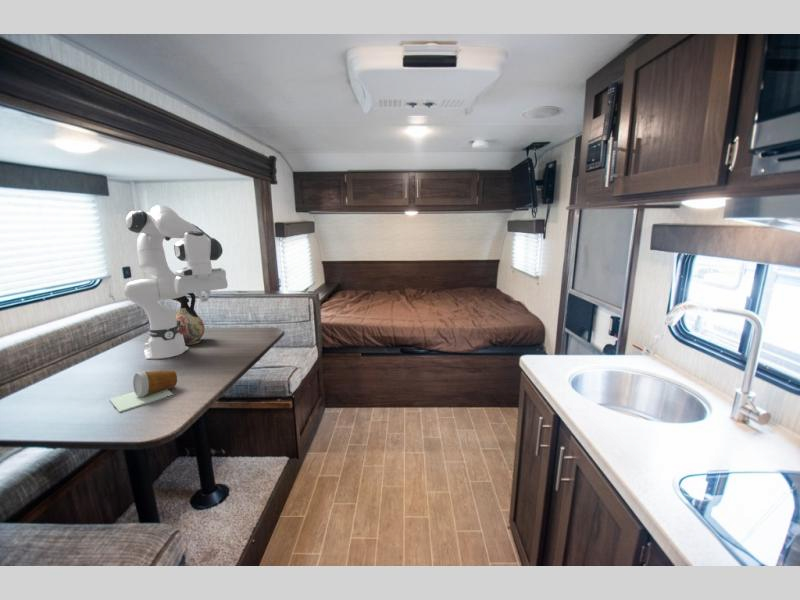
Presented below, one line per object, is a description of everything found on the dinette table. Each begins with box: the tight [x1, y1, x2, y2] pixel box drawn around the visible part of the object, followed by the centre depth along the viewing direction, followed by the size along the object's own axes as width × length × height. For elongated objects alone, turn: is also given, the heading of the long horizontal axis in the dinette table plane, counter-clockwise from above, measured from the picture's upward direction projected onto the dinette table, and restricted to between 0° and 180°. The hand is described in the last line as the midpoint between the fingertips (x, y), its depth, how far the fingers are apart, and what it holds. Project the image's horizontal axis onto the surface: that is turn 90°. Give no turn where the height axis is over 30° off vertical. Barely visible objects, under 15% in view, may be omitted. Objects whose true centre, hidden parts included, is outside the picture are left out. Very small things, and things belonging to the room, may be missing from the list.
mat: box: [108, 388, 174, 414], centre depth 125 cm, size 14×16×1 cm
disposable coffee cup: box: [132, 370, 178, 397], centre depth 129 cm, size 10×10×12 cm
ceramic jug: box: [171, 293, 205, 346], centre depth 184 cm, size 17×15×30 cm
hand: (204, 301), depth 146 cm, fingers closed
